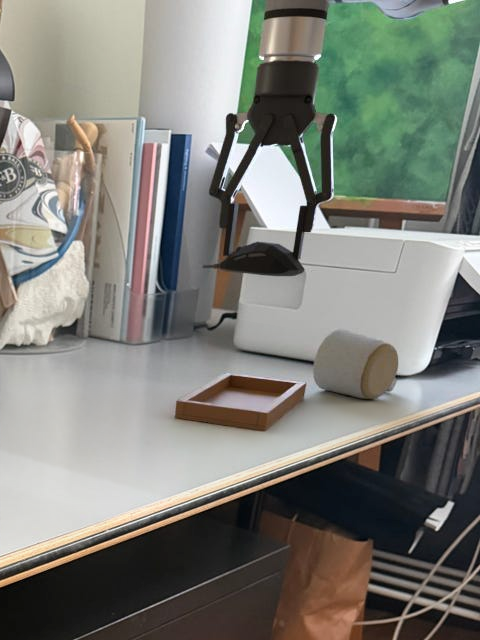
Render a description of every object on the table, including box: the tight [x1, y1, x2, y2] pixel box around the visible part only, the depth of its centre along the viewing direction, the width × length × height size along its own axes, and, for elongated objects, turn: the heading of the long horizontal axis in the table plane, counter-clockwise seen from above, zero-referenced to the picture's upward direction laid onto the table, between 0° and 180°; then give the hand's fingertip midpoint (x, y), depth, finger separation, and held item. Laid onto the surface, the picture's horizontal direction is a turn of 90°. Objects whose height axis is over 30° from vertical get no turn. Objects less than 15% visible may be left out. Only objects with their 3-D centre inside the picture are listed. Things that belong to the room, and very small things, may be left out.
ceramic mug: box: [312, 328, 399, 400], centre depth 120 cm, size 11×8×8 cm
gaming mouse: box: [202, 241, 306, 277], centre depth 127 cm, size 6×15×4 cm, turn 48°
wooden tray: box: [174, 372, 307, 432], centre depth 113 cm, size 10×20×2 cm, turn 151°
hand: (261, 256), depth 127 cm, fingers closed on gaming mouse, 8 cm apart
